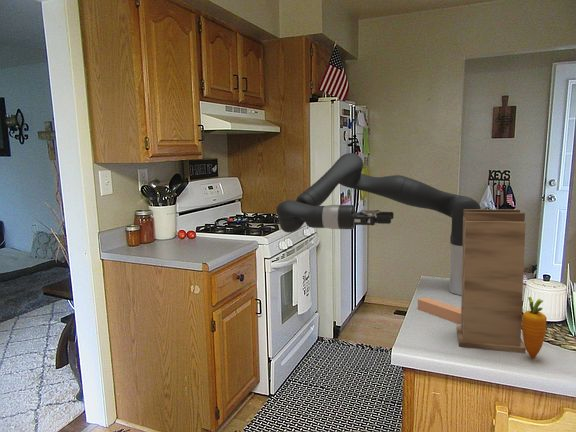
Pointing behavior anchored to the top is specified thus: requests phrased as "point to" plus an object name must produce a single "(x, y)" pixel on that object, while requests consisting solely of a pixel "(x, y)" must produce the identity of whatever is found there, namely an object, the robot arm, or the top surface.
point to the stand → (492, 279)
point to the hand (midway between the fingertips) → (392, 217)
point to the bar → (440, 309)
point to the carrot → (533, 328)
